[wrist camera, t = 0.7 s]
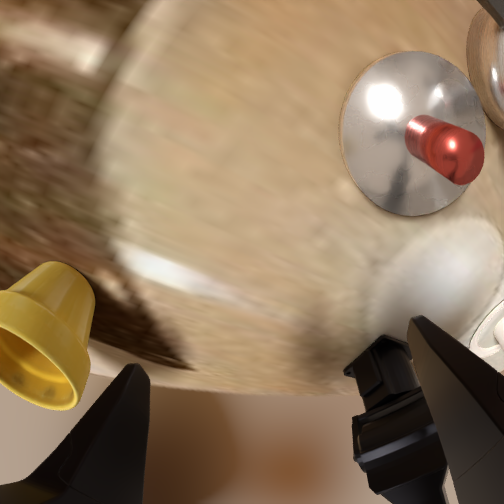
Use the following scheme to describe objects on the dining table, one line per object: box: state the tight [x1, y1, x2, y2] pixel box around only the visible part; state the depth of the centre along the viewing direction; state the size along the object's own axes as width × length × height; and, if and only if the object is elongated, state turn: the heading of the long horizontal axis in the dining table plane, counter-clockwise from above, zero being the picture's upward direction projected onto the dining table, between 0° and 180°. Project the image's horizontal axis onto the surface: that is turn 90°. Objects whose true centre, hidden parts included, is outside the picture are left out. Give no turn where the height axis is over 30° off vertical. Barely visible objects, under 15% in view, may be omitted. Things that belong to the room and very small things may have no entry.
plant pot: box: [0, 261, 95, 410], centre depth 21 cm, size 10×10×10 cm
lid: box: [339, 51, 486, 216], centre depth 16 cm, size 11×11×6 cm
